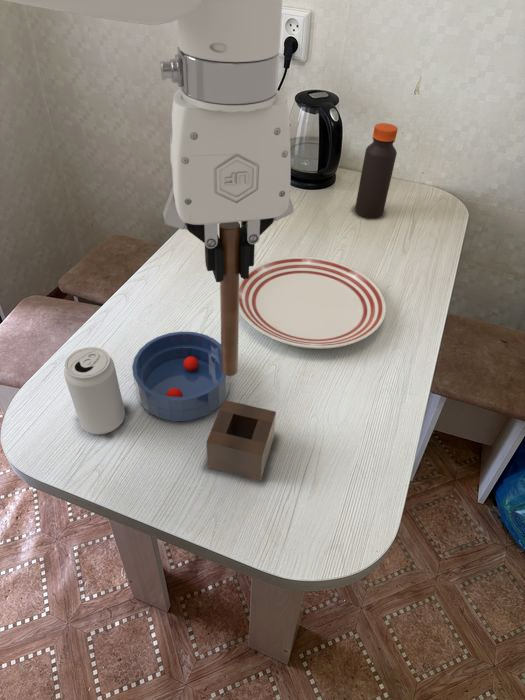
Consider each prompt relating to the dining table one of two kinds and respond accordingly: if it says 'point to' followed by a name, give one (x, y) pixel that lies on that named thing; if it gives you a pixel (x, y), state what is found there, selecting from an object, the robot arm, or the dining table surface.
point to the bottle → (377, 172)
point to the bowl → (180, 376)
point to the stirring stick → (230, 296)
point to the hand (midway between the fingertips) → (229, 271)
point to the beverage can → (94, 390)
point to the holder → (241, 440)
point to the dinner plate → (311, 302)
